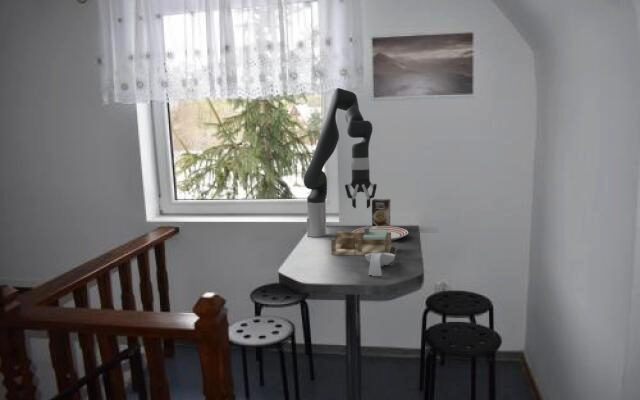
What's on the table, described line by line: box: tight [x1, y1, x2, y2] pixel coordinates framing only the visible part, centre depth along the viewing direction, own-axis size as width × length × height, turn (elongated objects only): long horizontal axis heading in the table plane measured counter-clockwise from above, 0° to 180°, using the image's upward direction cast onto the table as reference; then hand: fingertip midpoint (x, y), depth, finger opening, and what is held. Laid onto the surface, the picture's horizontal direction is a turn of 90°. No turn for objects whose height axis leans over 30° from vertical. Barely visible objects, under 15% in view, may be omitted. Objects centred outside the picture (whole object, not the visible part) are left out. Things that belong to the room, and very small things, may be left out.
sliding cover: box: [363, 225, 388, 240], centre depth 213 cm, size 9×16×4 cm, turn 168°
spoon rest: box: [364, 252, 396, 277], centre depth 189 cm, size 24×12×7 cm, turn 168°
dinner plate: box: [352, 225, 409, 242], centre depth 243 cm, size 28×27×3 cm
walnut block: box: [342, 236, 355, 249], centre depth 216 cm, size 5×5×6 cm
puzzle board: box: [330, 231, 392, 256], centre depth 215 cm, size 24×16×7 cm
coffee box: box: [371, 198, 391, 227], centre depth 262 cm, size 9×6×16 cm
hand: (361, 207), depth 213 cm, fingers open, 5 cm apart
